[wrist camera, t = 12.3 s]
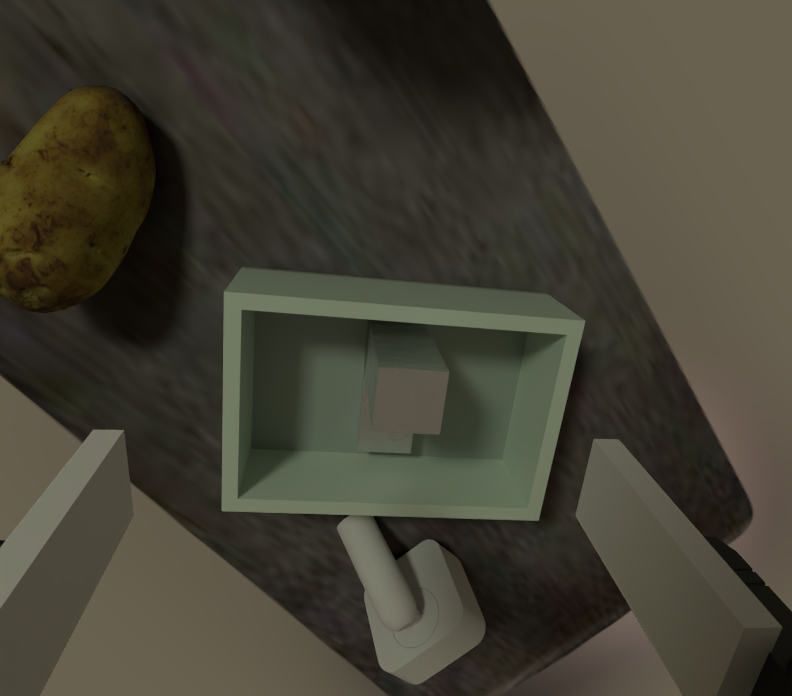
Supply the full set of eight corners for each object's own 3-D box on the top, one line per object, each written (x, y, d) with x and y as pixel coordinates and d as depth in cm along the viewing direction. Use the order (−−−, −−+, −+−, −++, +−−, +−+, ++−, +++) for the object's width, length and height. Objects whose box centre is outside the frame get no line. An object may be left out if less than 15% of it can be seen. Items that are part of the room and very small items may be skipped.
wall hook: (380, 478, 45) (414, 584, 37) (448, 533, 51) (491, 635, 42) (304, 535, 46) (321, 651, 38) (380, 583, 52) (409, 692, 44)
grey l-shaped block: (368, 315, 40) (378, 367, 31) (423, 319, 41) (449, 371, 32) (356, 438, 44) (362, 518, 34) (407, 440, 44) (426, 520, 35)
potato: (217, 174, 37) (188, 182, 29) (92, 308, 39) (34, 348, 31) (110, 70, 34) (47, 50, 27) (-18, 220, 36) (-109, 241, 29)
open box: (242, 266, 39) (223, 291, 32) (546, 292, 42) (585, 320, 35) (238, 455, 44) (221, 511, 37) (509, 467, 47) (538, 520, 40)
